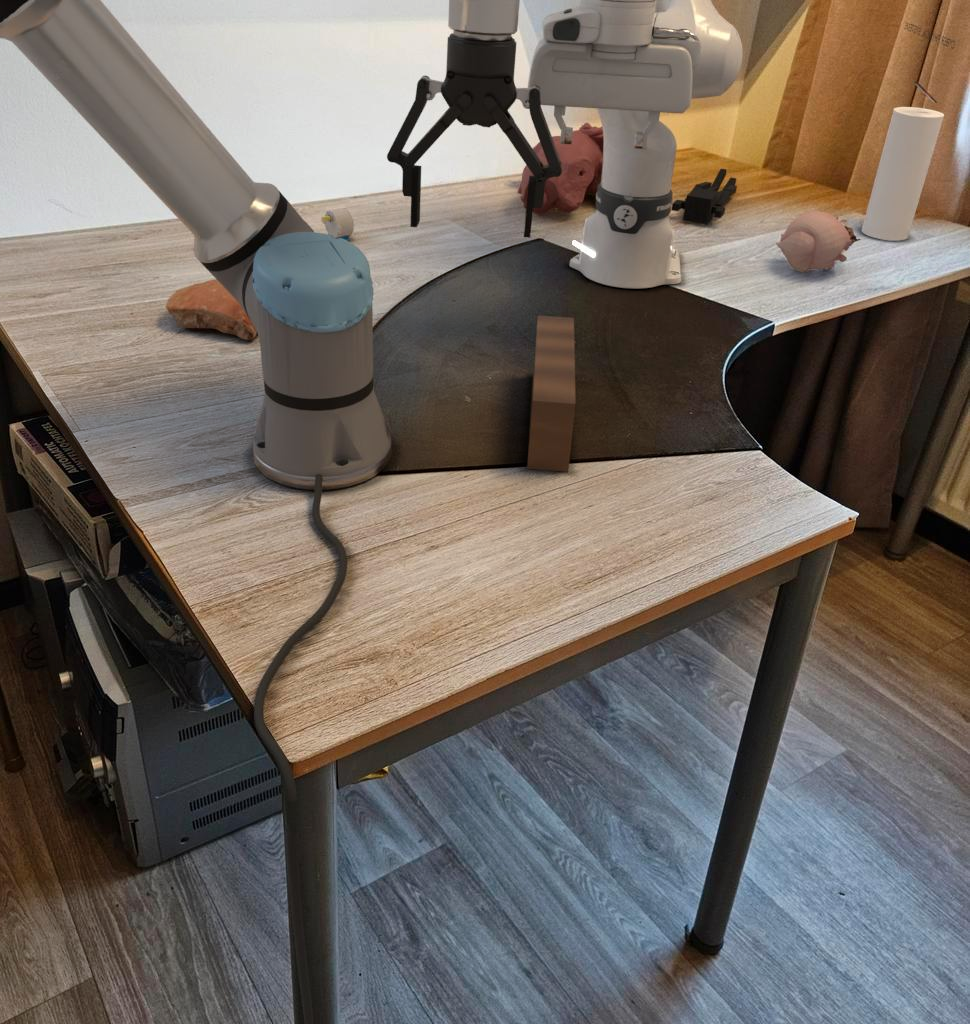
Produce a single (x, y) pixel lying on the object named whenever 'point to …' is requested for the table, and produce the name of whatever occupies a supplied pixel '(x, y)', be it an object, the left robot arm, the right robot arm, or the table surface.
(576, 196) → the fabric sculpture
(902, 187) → the tall white tube
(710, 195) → the toy
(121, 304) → the table surface
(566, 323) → the bar
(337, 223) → the electric motor
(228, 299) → the ceramic shard
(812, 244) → the toy
